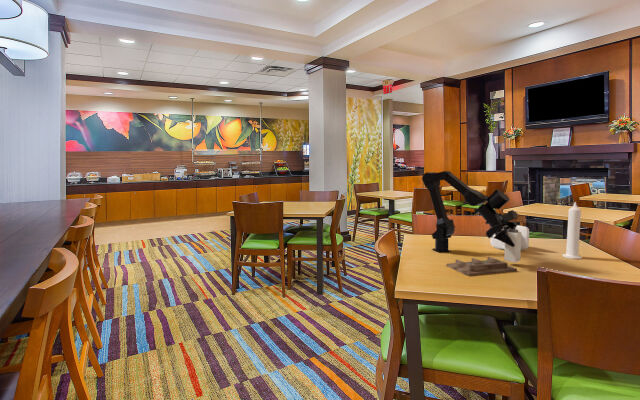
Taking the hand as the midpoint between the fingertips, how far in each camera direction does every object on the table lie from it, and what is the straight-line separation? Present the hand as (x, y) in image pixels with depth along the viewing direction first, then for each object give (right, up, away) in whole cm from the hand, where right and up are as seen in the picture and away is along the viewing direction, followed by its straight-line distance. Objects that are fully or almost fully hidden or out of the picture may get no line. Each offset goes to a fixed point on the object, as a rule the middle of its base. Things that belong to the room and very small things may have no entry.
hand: (516, 245), depth 150 cm
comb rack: (-16, -9, -3) cm, 19 cm away
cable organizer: (+13, -6, +30) cm, 33 cm away
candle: (+32, -7, +13) cm, 36 cm away
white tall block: (-1, -6, +2) cm, 7 cm away
